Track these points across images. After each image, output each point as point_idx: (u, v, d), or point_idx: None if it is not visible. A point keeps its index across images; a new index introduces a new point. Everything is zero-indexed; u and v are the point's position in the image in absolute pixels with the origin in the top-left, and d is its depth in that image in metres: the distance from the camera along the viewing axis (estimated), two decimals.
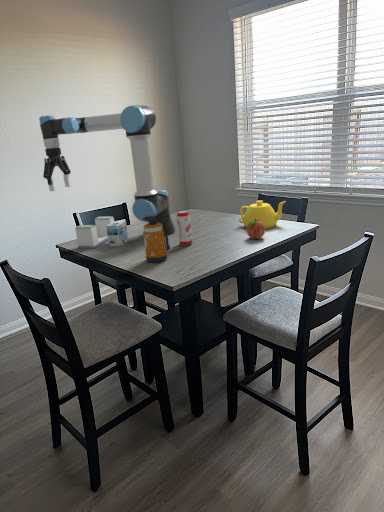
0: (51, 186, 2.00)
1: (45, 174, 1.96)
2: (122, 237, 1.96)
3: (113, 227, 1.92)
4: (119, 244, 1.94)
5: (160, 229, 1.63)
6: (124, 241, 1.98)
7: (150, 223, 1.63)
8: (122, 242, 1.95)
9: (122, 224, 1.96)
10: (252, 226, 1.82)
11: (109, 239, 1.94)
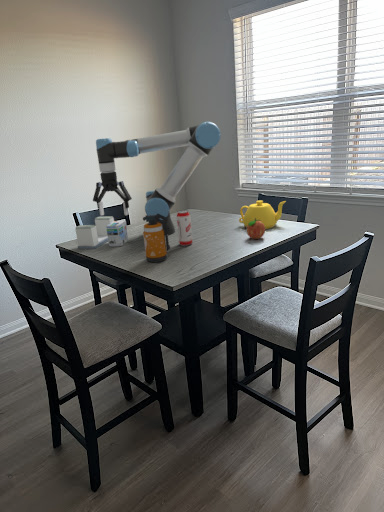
0: None
1: None
2: (122, 237, 1.96)
3: (113, 227, 1.92)
4: (119, 244, 1.94)
5: (160, 229, 1.63)
6: (124, 241, 1.98)
7: (150, 223, 1.63)
8: (122, 242, 1.95)
9: (122, 224, 1.96)
10: (252, 226, 1.82)
11: (109, 239, 1.94)
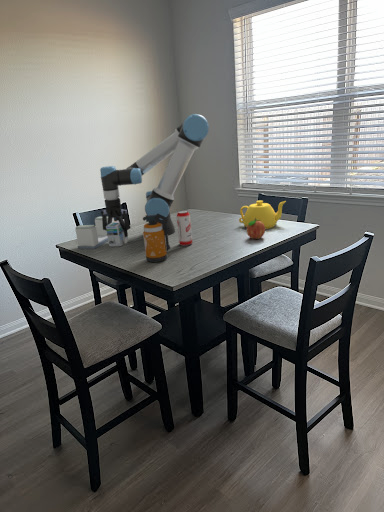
0: None
1: None
2: (122, 237, 1.96)
3: (113, 227, 1.92)
4: (119, 244, 1.94)
5: (160, 229, 1.63)
6: None
7: (150, 223, 1.63)
8: (122, 242, 1.95)
9: None
10: (252, 226, 1.82)
11: (109, 239, 1.94)
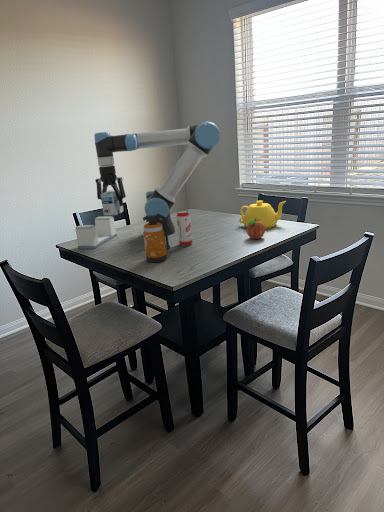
0: None
1: None
2: (117, 206, 1.91)
3: (107, 195, 1.87)
4: (114, 213, 1.89)
5: (160, 229, 1.63)
6: None
7: (150, 223, 1.63)
8: (117, 211, 1.91)
9: None
10: (252, 226, 1.82)
11: (103, 208, 1.89)
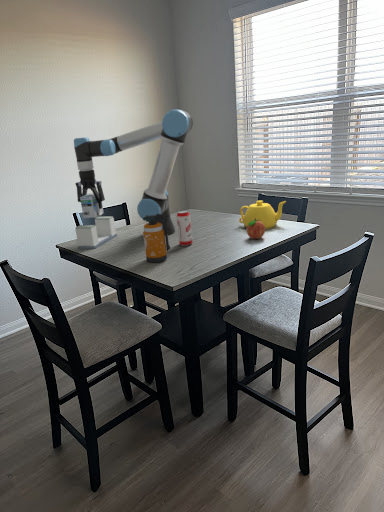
0: None
1: None
2: (96, 208, 1.98)
3: (87, 198, 1.94)
4: (93, 215, 1.96)
5: (160, 229, 1.63)
6: None
7: (150, 223, 1.63)
8: (96, 214, 1.97)
9: None
10: (252, 226, 1.82)
11: (83, 210, 1.96)
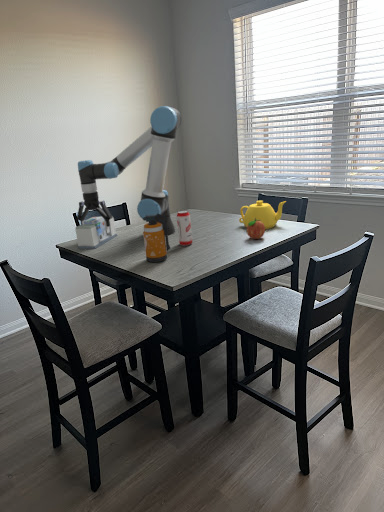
0: None
1: None
2: (99, 232, 2.02)
3: (90, 223, 1.98)
4: None
5: (160, 229, 1.63)
6: (101, 236, 2.04)
7: (150, 223, 1.63)
8: (99, 237, 2.01)
9: (99, 220, 2.02)
10: (252, 226, 1.82)
11: None
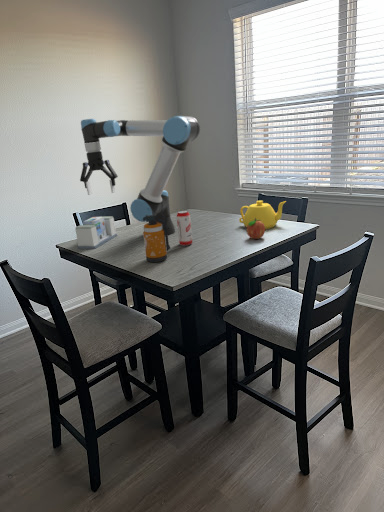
0: None
1: None
2: (99, 232, 2.02)
3: (90, 223, 1.98)
4: None
5: (160, 229, 1.63)
6: (101, 236, 2.04)
7: (150, 223, 1.63)
8: (99, 237, 2.01)
9: (99, 220, 2.02)
10: (252, 226, 1.82)
11: None
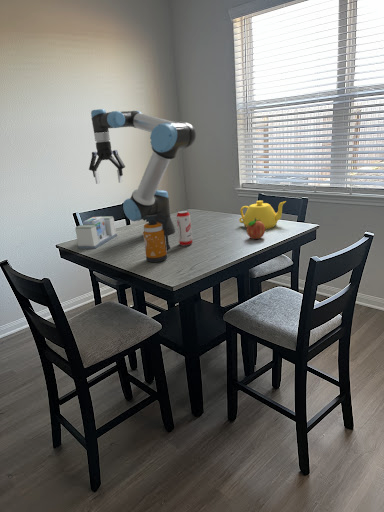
0: None
1: None
2: (99, 232, 2.02)
3: (90, 223, 1.98)
4: None
5: (160, 229, 1.63)
6: (101, 236, 2.04)
7: (150, 223, 1.63)
8: (99, 237, 2.01)
9: (99, 220, 2.02)
10: (252, 226, 1.82)
11: None
